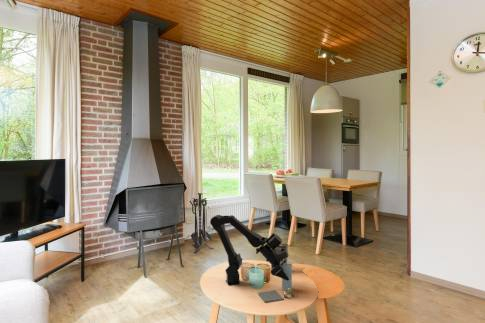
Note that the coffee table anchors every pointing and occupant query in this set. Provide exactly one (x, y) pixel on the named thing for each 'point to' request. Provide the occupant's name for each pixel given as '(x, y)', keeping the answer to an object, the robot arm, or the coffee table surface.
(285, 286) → the slate block
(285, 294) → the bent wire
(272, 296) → the rubber mat
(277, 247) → the coffee box
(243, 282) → the coffee table surface
